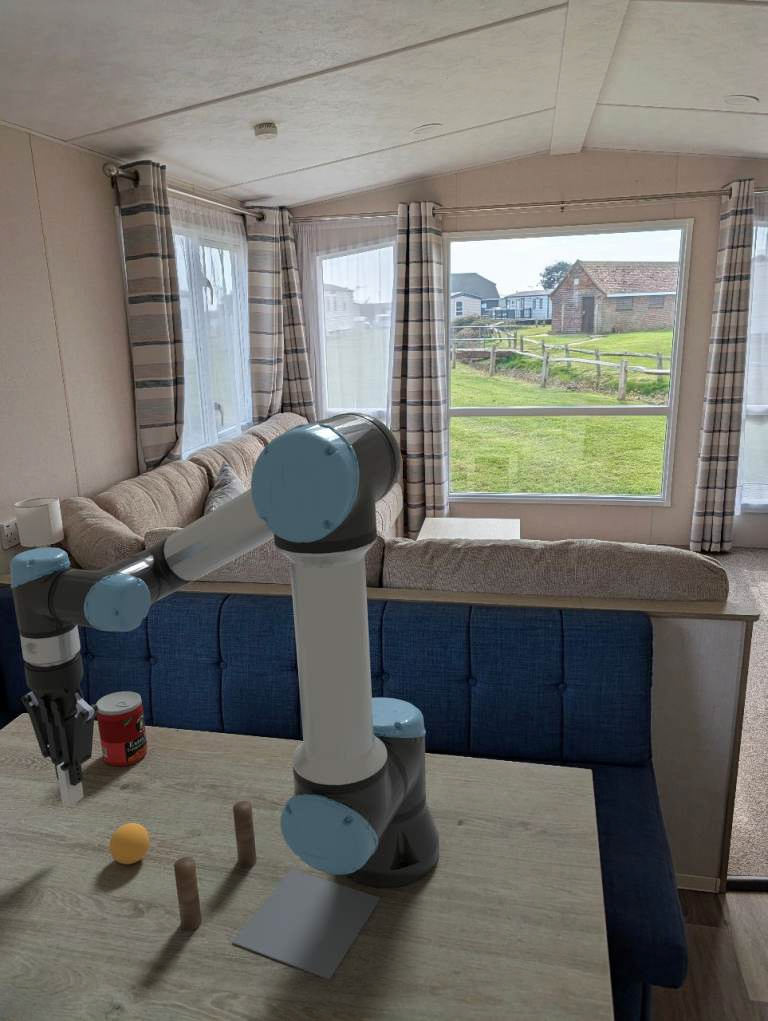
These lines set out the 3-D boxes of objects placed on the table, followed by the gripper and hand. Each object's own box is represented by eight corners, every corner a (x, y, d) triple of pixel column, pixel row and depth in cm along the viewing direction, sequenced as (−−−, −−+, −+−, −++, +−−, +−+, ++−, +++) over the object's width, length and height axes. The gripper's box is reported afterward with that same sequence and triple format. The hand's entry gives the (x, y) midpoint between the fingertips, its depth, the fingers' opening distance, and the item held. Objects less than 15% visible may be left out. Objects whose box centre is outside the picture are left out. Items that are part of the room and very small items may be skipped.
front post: (205, 918, 99) (199, 860, 97) (193, 933, 97) (185, 873, 95) (189, 912, 100) (183, 854, 98) (177, 926, 98) (169, 867, 96)
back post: (259, 857, 110) (255, 803, 108) (249, 868, 108) (244, 814, 106) (245, 852, 111) (240, 799, 109) (234, 864, 109) (229, 809, 107)
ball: (159, 852, 112) (155, 820, 111) (132, 877, 107) (128, 843, 106) (130, 843, 114) (126, 811, 113) (103, 866, 109) (99, 833, 108)
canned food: (135, 769, 133) (127, 713, 131) (94, 765, 135) (86, 710, 132) (156, 745, 141) (149, 692, 138) (117, 742, 142) (109, 689, 140)
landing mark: (380, 898, 101) (380, 897, 101) (329, 980, 89) (329, 978, 89) (291, 870, 107) (291, 869, 107) (232, 943, 95) (232, 942, 95)
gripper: (-3, 659, 107) (21, 804, 113) (65, 675, 101) (86, 827, 107) (41, 638, 113) (61, 776, 119) (106, 653, 108) (124, 797, 114)
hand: (73, 800), depth 113 cm, fingers closed
